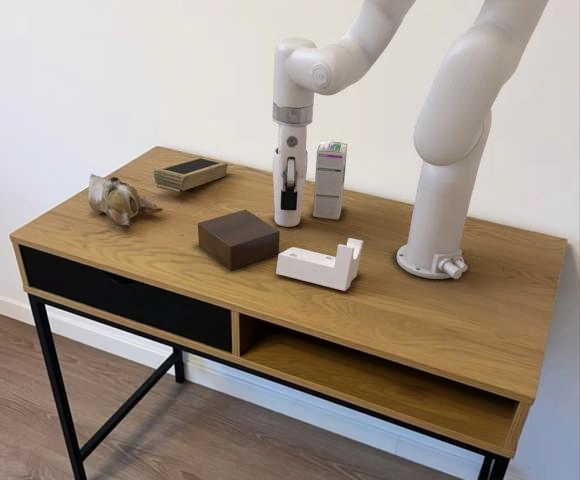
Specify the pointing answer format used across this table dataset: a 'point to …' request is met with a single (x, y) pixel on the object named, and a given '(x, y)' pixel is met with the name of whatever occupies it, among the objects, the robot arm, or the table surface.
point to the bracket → (322, 265)
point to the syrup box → (329, 179)
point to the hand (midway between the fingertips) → (288, 201)
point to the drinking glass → (281, 216)
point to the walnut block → (238, 239)
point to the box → (189, 173)
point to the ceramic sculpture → (117, 200)
